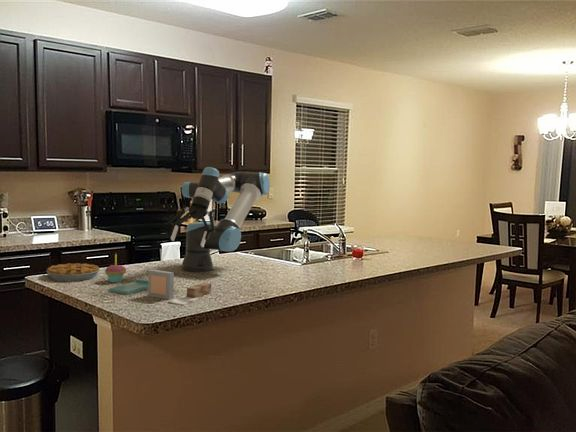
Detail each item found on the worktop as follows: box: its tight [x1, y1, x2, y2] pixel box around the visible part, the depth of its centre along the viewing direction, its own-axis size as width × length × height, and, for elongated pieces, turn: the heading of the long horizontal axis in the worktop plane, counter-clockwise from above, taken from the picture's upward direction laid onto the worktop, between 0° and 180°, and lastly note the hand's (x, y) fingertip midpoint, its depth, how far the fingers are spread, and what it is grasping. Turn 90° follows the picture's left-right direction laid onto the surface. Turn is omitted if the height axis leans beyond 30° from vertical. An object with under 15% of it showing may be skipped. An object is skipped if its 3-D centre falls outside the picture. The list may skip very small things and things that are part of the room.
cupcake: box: [104, 254, 127, 283], centre depth 226 cm, size 9×8×12 cm
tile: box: [147, 269, 175, 300], centre depth 203 cm, size 3×10×10 cm, turn 66°
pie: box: [45, 262, 100, 282], centre depth 232 cm, size 22×22×5 cm
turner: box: [167, 282, 212, 306], centre depth 204 cm, size 22×7×4 cm, turn 157°
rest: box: [109, 278, 148, 295], centre depth 214 cm, size 16×9×2 cm, turn 156°
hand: (186, 243), depth 226 cm, fingers open, 13 cm apart
